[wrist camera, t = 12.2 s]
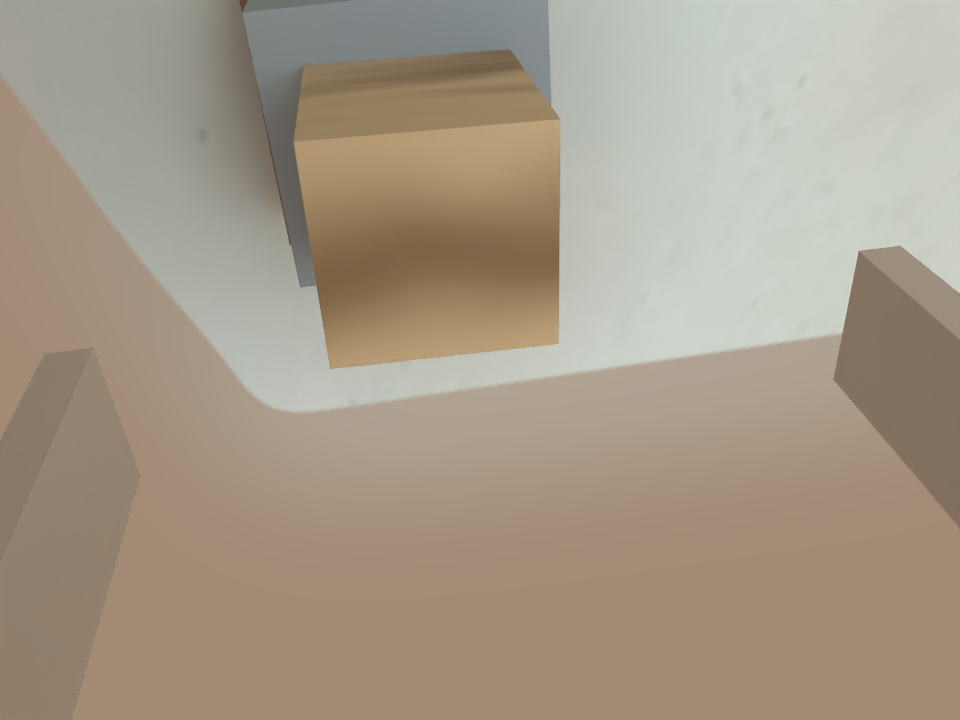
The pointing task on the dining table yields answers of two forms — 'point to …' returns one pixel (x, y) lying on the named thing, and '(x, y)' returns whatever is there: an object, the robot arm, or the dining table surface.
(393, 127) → the oak block
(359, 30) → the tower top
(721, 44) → the dining table surface
